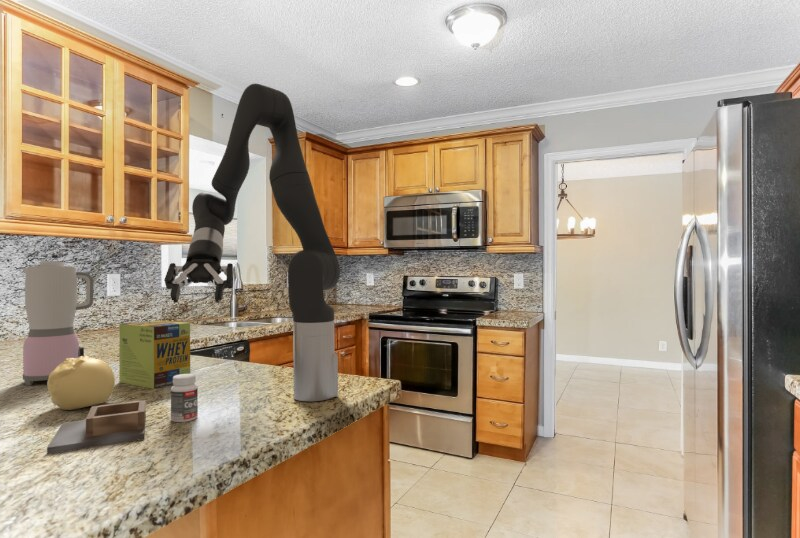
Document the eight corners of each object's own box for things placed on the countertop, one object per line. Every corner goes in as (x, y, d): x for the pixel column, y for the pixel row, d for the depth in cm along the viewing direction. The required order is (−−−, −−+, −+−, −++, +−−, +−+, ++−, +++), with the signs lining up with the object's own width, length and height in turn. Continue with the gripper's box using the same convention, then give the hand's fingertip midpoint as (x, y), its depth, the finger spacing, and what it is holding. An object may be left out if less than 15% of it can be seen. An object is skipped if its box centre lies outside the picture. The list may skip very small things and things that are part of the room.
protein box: (154, 389, 114) (153, 326, 114) (118, 382, 122) (118, 323, 122) (191, 380, 123) (191, 322, 124) (156, 375, 131) (156, 319, 131)
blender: (19, 388, 117) (19, 260, 117) (24, 379, 127) (24, 262, 127) (94, 379, 126) (93, 261, 126) (93, 371, 136) (93, 262, 136)
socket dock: (145, 417, 92) (145, 396, 92) (144, 439, 79) (144, 415, 79) (62, 428, 86) (62, 406, 86) (47, 454, 73) (47, 428, 73)
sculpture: (56, 402, 103) (56, 353, 103) (119, 396, 108) (119, 350, 108) (38, 417, 93) (38, 363, 93) (108, 410, 97) (108, 358, 97)
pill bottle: (187, 423, 88) (187, 379, 88) (165, 422, 89) (165, 378, 89) (202, 415, 92) (202, 373, 92) (181, 414, 93) (181, 372, 93)
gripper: (171, 238, 109) (157, 288, 98) (235, 239, 112) (228, 288, 101) (176, 261, 114) (164, 311, 103) (237, 261, 117) (231, 310, 106)
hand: (196, 300), depth 102 cm, fingers open, 8 cm apart
